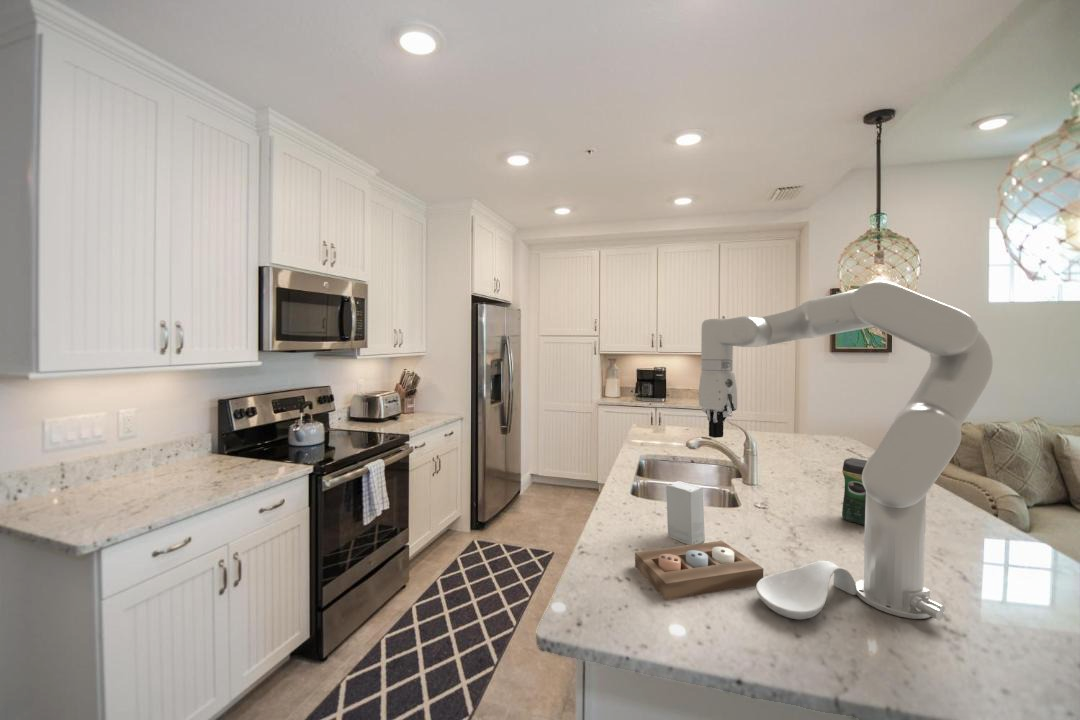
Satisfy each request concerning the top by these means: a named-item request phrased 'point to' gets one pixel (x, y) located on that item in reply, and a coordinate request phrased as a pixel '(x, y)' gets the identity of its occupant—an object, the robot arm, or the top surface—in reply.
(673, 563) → the three-pip button
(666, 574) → the wooden three-slot caddy
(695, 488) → the skincare box
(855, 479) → the coffee jar
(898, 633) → the top surface
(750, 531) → the top surface
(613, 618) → the top surface
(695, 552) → the two-pip button
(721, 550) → the one-pip button
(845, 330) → the robot arm
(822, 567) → the spoon rest
